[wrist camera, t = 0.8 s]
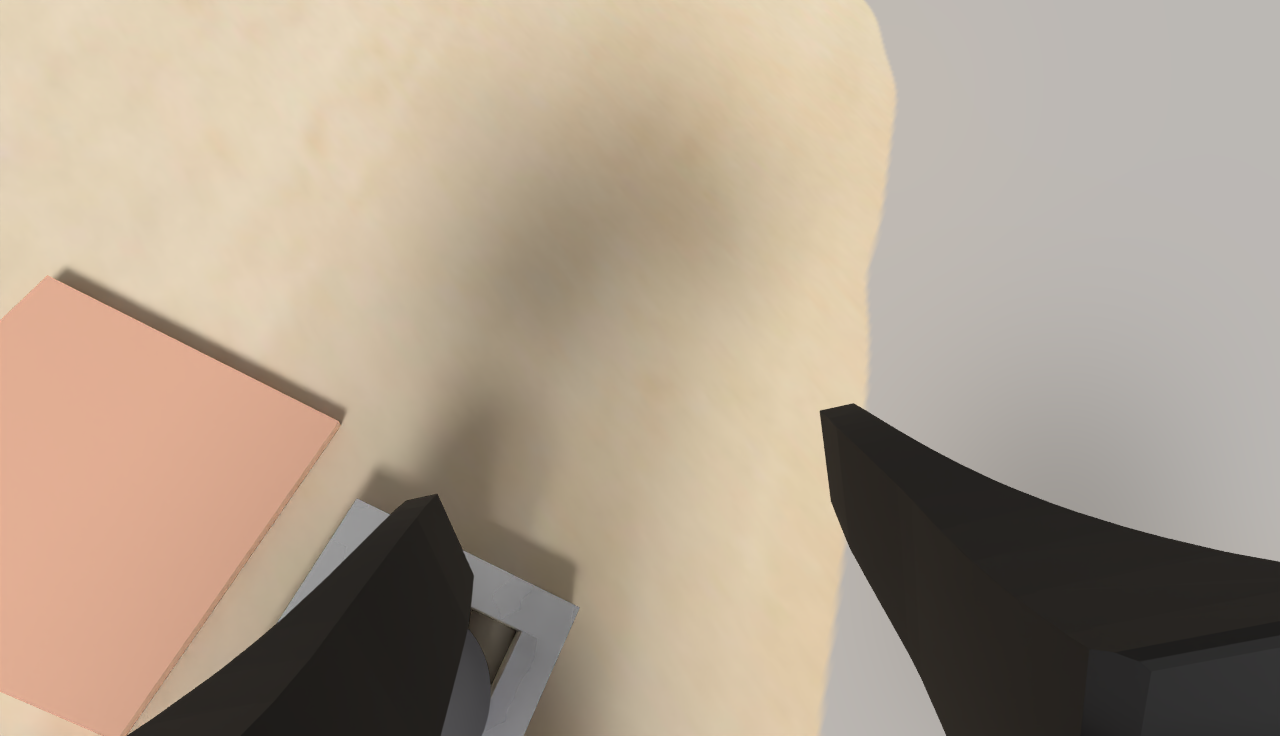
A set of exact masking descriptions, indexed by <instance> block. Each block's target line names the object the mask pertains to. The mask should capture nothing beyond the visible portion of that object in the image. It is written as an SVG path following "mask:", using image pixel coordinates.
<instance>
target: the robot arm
mask: <svg viewBox="0 0 1280 736" xmlns="http://www.w3.org/2000/svg"><path fill="white" fill-rule="evenodd" d="M820 417H821V425H822V433H823V441H824V449H825V457H826V465H827V473H828V481H829V489H830V497H831V502H832V505H833V507H834V510H835V513H836V515H837V518H838V520H839V523H840V525H841V528H842V530H843V533H844V535H845V537H846V540H847V542H848V545H849V547H850V549H851V551H852V553H853V555H854V556H855V558H856V560H857V562H858V564H859V566H860V567H861V569H862V571H863V573H864V575H865V576H866V578H867V580H868V582H869V584H870V586H871V587H872V589H873V591H874V592H875V594H876V596H877V598H878V600H879V601H880V603H881V605H882V607H883V609H884V610H885V612H886V614H887V616H888V618H889V619H890V621H891V623H892V625H893V626H894V628H895V630H896V632H897V634H898V635H899V637H900V639H901V641H902V642H903V644H904V646H905V648H906V650H907V651H908V653H909V655H910V657H911V659H912V661H913V663H914V665H915V667H916V669H917V671H918V673H919V675H920V677H921V679H922V681H923V683H924V686H925V688H926V690H927V692H928V695H929V697H930V699H931V702H932V704H933V706H934V708H935V710H936V713H937V715H938V717H939V720H940V722H941V724H942V727H943V729H944V731H945V734H946V736H1280V562H1278V561H1272V560H1267V559H1261V558H1256V557H1250V556H1245V555H1239V554H1234V553H1229V552H1224V551H1219V550H1215V549H1211V548H1206V547H1202V546H1198V545H1194V544H1190V543H1185V542H1181V541H1176V540H1173V539H1168V538H1164V537H1160V536H1157V535H1153V534H1149V533H1145V532H1142V531H1138V530H1134V529H1130V528H1127V527H1123V526H1120V525H1117V524H1114V523H1110V522H1107V521H1104V520H1101V519H1098V518H1094V517H1091V516H1087V515H1085V514H1081V513H1078V512H1075V511H1072V510H1069V509H1067V508H1064V507H1061V506H1058V505H1055V504H1052V503H1049V502H1047V501H1044V500H1042V499H1039V498H1037V497H1034V496H1031V495H1029V494H1026V493H1024V492H1021V491H1019V490H1016V489H1014V488H1011V487H1008V486H1006V485H1004V484H1002V483H999V482H997V481H995V480H992V479H990V478H988V477H986V476H984V475H982V474H980V473H978V472H976V471H974V470H971V469H969V468H967V467H965V466H963V465H961V464H959V463H957V462H955V461H953V460H951V459H949V458H947V457H945V456H943V455H941V454H940V453H938V452H936V451H934V450H932V449H930V448H928V447H927V446H925V445H923V444H921V443H920V442H918V441H916V440H914V439H913V438H911V437H909V436H907V435H906V434H904V433H902V432H900V431H898V430H897V429H895V428H894V427H892V426H890V425H889V424H887V423H885V422H884V421H882V420H880V419H879V418H877V417H876V416H874V415H872V414H871V413H869V412H867V411H866V410H864V409H862V408H861V407H859V406H857V405H855V404H854V403H853V404H849V405H844V406H839V407H835V408H830V409H826V410H821V411H820ZM473 581H474V574H473V572H472V570H471V568H470V565H469V563H468V561H467V559H466V556H465V554H464V552H463V550H462V547H461V545H460V543H459V541H458V539H457V536H456V534H455V532H454V530H453V527H452V525H451V523H450V521H449V519H448V516H447V514H446V512H445V510H444V507H443V505H442V503H441V501H440V499H439V496H438V494H434V495H430V496H425V497H420V498H416V499H411V500H407V501H405V502H404V503H403V504H402V505H400V506H399V507H398V508H397V509H396V510H395V511H394V512H393V513H391V514H390V515H389V516H388V517H387V518H386V519H385V520H384V521H383V522H382V523H381V524H380V525H379V526H378V527H377V528H376V529H375V530H374V531H373V532H372V533H371V534H370V535H369V536H368V537H367V538H366V539H365V540H364V541H363V542H362V543H361V544H360V545H359V546H358V547H357V548H356V549H355V550H354V551H353V552H352V553H351V554H350V555H349V556H348V557H347V558H346V559H345V560H344V561H343V562H342V563H341V564H340V565H339V566H338V567H337V568H336V569H335V570H334V571H333V572H332V573H331V574H330V575H329V576H328V577H327V578H326V579H324V580H323V581H322V582H321V583H320V584H319V585H318V586H317V587H316V588H315V589H314V590H313V591H312V592H310V593H309V594H308V595H307V596H306V597H305V598H304V599H303V600H302V601H301V602H300V603H299V604H298V605H296V606H295V607H294V608H293V609H292V610H291V611H290V612H289V613H288V614H287V615H286V616H285V617H283V618H282V619H281V620H280V621H279V622H278V623H277V624H276V625H274V626H273V627H272V628H271V629H270V630H269V631H268V632H266V633H265V634H264V635H263V636H262V637H260V638H259V639H258V640H257V641H256V642H254V643H253V644H252V645H251V646H250V647H248V648H247V649H246V650H245V651H243V652H242V653H241V654H240V655H238V656H237V657H236V658H235V659H233V660H232V661H231V662H230V663H228V664H227V665H226V666H225V667H223V668H222V669H221V670H219V671H218V672H217V673H215V674H214V675H213V676H212V677H210V678H209V679H207V680H206V681H205V682H203V683H202V684H200V685H199V686H198V687H196V688H195V689H193V690H192V691H191V692H189V693H188V694H186V695H185V696H184V697H182V698H181V699H179V700H178V701H177V702H175V703H174V704H172V705H171V706H170V707H168V708H167V709H165V710H164V711H163V712H161V713H160V714H158V715H157V716H156V717H154V718H153V719H151V720H150V721H148V722H147V723H145V724H144V725H142V726H141V727H139V728H138V729H136V730H135V731H133V732H132V733H130V734H129V735H127V736H441V733H442V729H443V725H444V721H445V718H446V714H447V710H448V706H449V702H450V698H451V694H452V690H453V687H454V683H455V679H456V675H457V671H458V667H459V663H460V659H461V655H462V651H463V647H464V643H465V639H466V635H467V630H468V626H469V619H470V611H471V603H472V592H473Z"/></svg>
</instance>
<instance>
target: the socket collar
mask: <svg viewBox="0 0 1280 736" xmlns="http://www.w3.org/2000/svg"><path fill="white" fill-rule="evenodd" d="M389 515H390V514H388V513H386V512H384V511H382V510H380V509H378V508H376V507H374V506H372V505H369V504H367V503H365V502H363V501H361V500H359V499H356V501H355V502H354V504H353V505H352V507H351V508H350V510H349V511H348V513H347V515H346V516H345V518H344V519H343V521H342V522H341V524H340V525H339V527H338V529H337V530H336V532H335V533H334V535H333V536H332V538H331V539H330V541H329V543H328V544H327V546H326V547H325V549H324V550H323V552H322V553H321V555H320V557H319V558H318V560H317V561H316V563H315V564H314V566H313V568H312V569H311V571H310V572H309V574H308V575H307V577H306V578H305V580H304V582H303V583H302V585H301V586H300V588H299V589H298V591H297V592H296V594H295V596H294V597H293V599H292V600H291V602H290V603H289V605H288V606H287V608H286V610H285V611H284V613H283V614H282V616H281V617H280V619H279V620H278V622H279V621H280V620H281V619H282V618H283V617H285V616H286V615H287V614H288V613H289V612H290V611H291V610H292V609H293V608H294V607H295V606H296V605H298V604H299V603H300V602H301V601H302V600H303V599H304V598H305V597H306V596H307V595H308V594H309V593H310V592H312V591H313V590H314V589H315V588H316V587H317V586H318V585H319V584H320V583H321V582H322V581H323V580H324V579H326V578H327V577H328V576H329V575H330V574H331V573H332V572H333V571H334V570H335V569H336V568H337V567H338V566H339V565H340V564H341V563H342V562H343V561H344V560H345V559H346V558H347V557H348V556H349V555H350V554H351V553H352V552H353V551H354V550H355V549H356V548H357V547H358V546H359V545H360V544H361V543H362V542H363V541H364V540H365V539H366V538H367V537H368V536H369V535H370V534H371V533H372V532H373V531H374V530H375V529H376V528H377V527H378V526H379V525H380V524H381V523H382V522H383V521H384V520H385V519H386V518H387V517H388V516H389ZM463 552H464V554H465V556H466V559H467V561H468V563H469V565H470V568H471V570H472V572H473V574H474V581H473V592H472V603H471V609H473V610H475V611H477V612H479V613H482V614H484V615H486V616H488V617H490V618H492V619H494V620H496V621H498V622H500V623H502V624H504V625H507V626H509V627H511V628H513V629H515V630H517V632H516V634H515V636H514V638H513V640H512V642H511V644H510V647H509V649H508V651H507V653H506V655H505V657H504V659H503V661H502V663H501V666H500V668H499V670H498V672H497V674H496V676H495V678H494V680H493V682H492V685H491V698H490V708H489V714H488V718H487V722H486V726H485V729H484V732H483V734H482V736H524V734H525V732H526V729H527V727H528V725H529V722H530V720H531V718H532V716H533V713H534V711H535V709H536V706H537V704H538V702H539V700H540V697H541V695H542V693H543V690H544V688H545V686H546V684H547V681H548V679H549V677H550V674H551V672H552V670H553V668H554V665H555V663H556V661H557V658H558V656H559V654H560V651H561V649H562V647H563V645H564V642H565V640H566V638H567V635H568V633H569V631H570V629H571V626H572V624H573V622H574V619H575V617H576V615H577V613H578V610H579V608H580V607H578V606H576V605H574V604H572V603H570V602H568V601H566V600H563V599H561V598H559V597H557V596H555V595H553V594H551V593H549V592H547V591H545V590H543V589H541V588H539V587H537V586H535V585H533V584H531V583H529V582H527V581H525V580H523V579H521V578H519V577H517V576H514V575H512V574H510V573H508V572H506V571H504V570H502V569H500V568H498V567H496V566H494V565H492V564H490V563H488V562H486V561H484V560H482V559H480V558H478V557H476V556H474V555H472V554H470V553H468V552H465V551H463ZM278 622H277V623H278Z"/></svg>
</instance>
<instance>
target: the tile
mask: <svg viewBox="0 0 1280 736" xmlns="http://www.w3.org/2000/svg"><path fill="white" fill-rule="evenodd" d="M340 426H341V425H340V423H339V421H337V420H335V419H333V418H331V417H329V416H327V415H325V414H323V413H321V412H319V411H317V410H315V409H313V408H311V407H309V406H307V405H305V404H303V403H301V402H299V401H297V400H295V399H293V398H291V397H289V396H287V395H285V394H283V393H281V392H279V391H277V390H275V389H273V388H271V387H269V386H267V385H265V384H263V383H261V382H259V381H257V380H255V379H253V378H251V377H249V376H247V375H245V374H243V373H241V372H239V371H237V370H235V369H233V368H231V367H229V366H227V365H225V364H223V363H221V362H219V361H217V360H215V359H213V358H211V357H209V356H207V355H205V354H203V353H201V352H199V351H197V350H195V349H193V348H191V347H189V346H187V345H185V344H183V343H181V342H179V341H178V340H176V339H174V338H172V337H170V336H168V335H166V334H164V333H162V332H160V331H158V330H156V329H154V328H152V327H150V326H148V325H146V324H144V323H142V322H140V321H138V320H136V319H134V318H132V317H130V316H128V315H126V314H124V313H122V312H120V311H118V310H116V309H114V308H112V307H110V306H108V305H106V304H104V303H102V302H100V301H98V300H96V299H94V298H92V297H90V296H88V295H86V294H84V293H82V292H80V291H78V290H76V289H74V288H72V287H70V286H68V285H66V284H64V283H62V282H60V281H58V280H56V279H54V278H52V277H50V276H48V275H47V276H46V277H45V278H44V279H43V280H42V281H41V282H40V283H39V284H38V285H37V286H36V287H35V288H34V289H32V290H31V291H30V292H29V293H28V294H27V295H26V296H25V297H24V298H23V299H22V300H21V301H20V302H19V303H18V304H17V305H16V306H15V307H14V308H12V309H11V310H10V311H9V312H8V313H7V314H6V315H5V316H4V317H3V318H2V319H1V320H0V692H2V693H5V694H7V695H9V696H12V697H14V698H16V699H19V700H21V701H23V702H26V703H28V704H30V705H33V706H35V707H37V708H39V709H42V710H44V711H46V712H49V713H51V714H53V715H56V716H58V717H60V718H63V719H65V720H67V721H70V722H72V723H74V724H77V725H79V726H81V727H84V728H86V729H88V730H90V731H93V732H95V733H97V734H100V735H102V736H126V735H127V734H128V732H129V731H130V729H131V728H132V727H133V725H134V724H135V722H136V721H137V719H138V718H139V716H140V715H141V713H142V712H143V711H144V709H145V708H146V706H147V705H148V703H149V702H150V700H151V699H152V698H153V696H154V695H155V693H156V692H157V690H158V689H159V687H160V686H161V685H162V683H163V682H164V680H165V679H166V677H167V676H168V674H169V673H170V672H171V670H172V669H173V667H174V666H175V664H176V663H177V661H178V660H179V659H180V657H181V656H182V654H183V653H184V651H185V650H186V648H187V647H188V646H189V644H190V643H191V641H192V640H193V638H194V637H195V635H196V634H197V633H198V631H199V630H200V628H201V627H202V625H203V624H204V622H205V621H206V620H207V618H208V617H209V615H210V614H211V612H212V611H213V609H214V608H215V607H216V605H217V604H218V602H219V601H220V599H221V598H222V596H223V595H224V594H225V592H226V591H227V589H228V588H229V586H230V585H231V583H232V582H233V581H234V579H235V578H236V576H237V575H238V573H239V572H240V570H241V569H242V568H243V566H244V565H245V563H246V562H247V560H248V559H249V557H250V556H251V555H252V553H253V552H254V550H255V549H256V547H257V546H258V544H259V543H260V542H261V540H262V539H263V537H264V536H265V534H266V533H267V531H268V530H269V529H270V527H271V526H272V524H273V523H274V521H275V520H276V518H277V517H278V516H279V514H280V513H281V511H282V510H283V508H284V507H285V505H286V504H287V503H288V501H289V500H290V498H291V497H292V495H293V494H294V492H295V491H296V490H297V488H298V487H299V485H300V484H301V482H302V481H303V479H304V478H305V477H306V475H307V474H308V472H309V471H310V469H311V468H312V466H313V465H314V464H315V462H316V461H317V459H318V458H319V456H320V455H321V453H322V452H323V451H324V449H325V448H326V446H327V445H328V443H329V442H330V440H331V439H332V438H333V436H334V435H335V433H336V432H337V430H338V429H339V427H340Z"/></svg>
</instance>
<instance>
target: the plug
mask: <svg viewBox="0 0 1280 736" xmlns="http://www.w3.org/2000/svg"><path fill="white" fill-rule="evenodd" d="M490 698H491V685H490V675H489V670H488V666H487V662H486V659H485V656H484V654H483V651H482V649H481V647H480V645H479V643H478V641H477V640H476V639H475V637H474V636H473V634H472V633H471V632H470V630H469V629H468V630H467V635H466V639H465V643H464V647H463V651H462V655H461V659H460V663H459V667H458V671H457V675H456V679H455V683H454V687H453V690H452V694H451V698H450V702H449V706H448V710H447V714H446V718H445V721H444V725H443V729H442V733H441V736H482V734H483V732H484V729H485V726H486V722H487V718H488V714H489V708H490Z"/></svg>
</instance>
